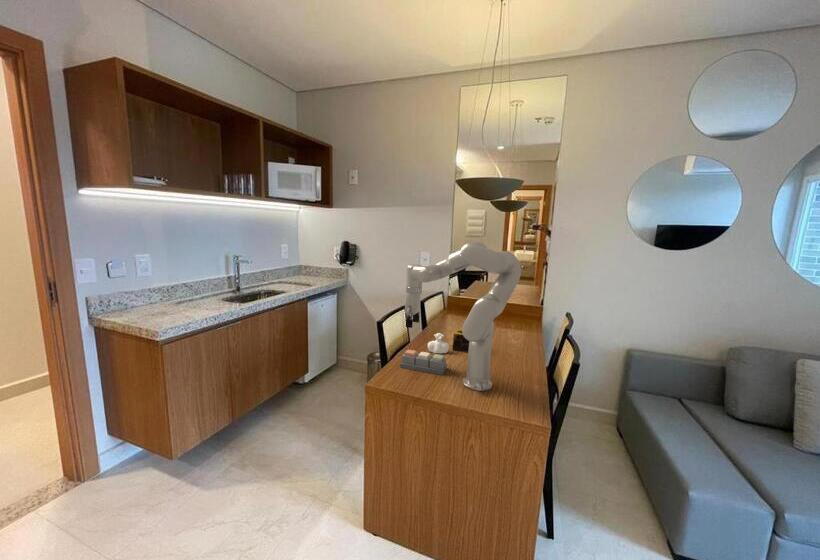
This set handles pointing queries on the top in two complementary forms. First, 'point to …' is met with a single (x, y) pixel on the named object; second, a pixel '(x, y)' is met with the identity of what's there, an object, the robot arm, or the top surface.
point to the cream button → (424, 355)
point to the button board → (423, 364)
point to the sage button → (438, 358)
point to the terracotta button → (410, 353)
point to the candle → (460, 341)
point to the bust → (438, 345)
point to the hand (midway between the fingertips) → (412, 324)
